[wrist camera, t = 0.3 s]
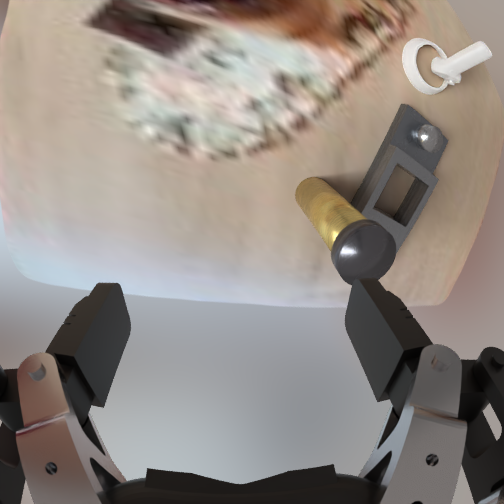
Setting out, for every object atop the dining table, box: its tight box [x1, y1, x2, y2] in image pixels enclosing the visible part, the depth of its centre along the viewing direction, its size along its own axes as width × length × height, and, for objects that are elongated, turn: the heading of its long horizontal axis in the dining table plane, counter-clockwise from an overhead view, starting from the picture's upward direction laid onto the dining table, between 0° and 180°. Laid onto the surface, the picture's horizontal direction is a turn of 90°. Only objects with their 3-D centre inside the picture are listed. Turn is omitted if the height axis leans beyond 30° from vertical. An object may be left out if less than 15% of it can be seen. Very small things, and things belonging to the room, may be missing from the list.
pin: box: [295, 177, 396, 285], centre depth 25 cm, size 5×5×14 cm
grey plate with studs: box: [351, 104, 448, 253], centre depth 30 cm, size 20×8×3 cm, turn 156°
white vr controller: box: [402, 38, 492, 95], centre depth 20 cm, size 8×12×7 cm
